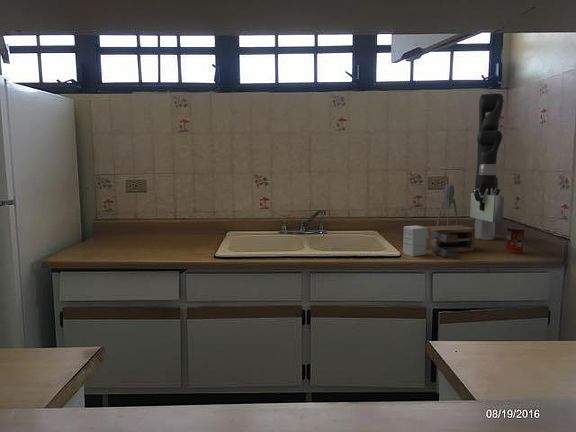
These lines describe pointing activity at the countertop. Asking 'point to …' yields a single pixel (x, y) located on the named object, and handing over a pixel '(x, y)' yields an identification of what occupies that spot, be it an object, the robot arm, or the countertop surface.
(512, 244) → the soda can
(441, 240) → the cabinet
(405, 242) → the supplement box
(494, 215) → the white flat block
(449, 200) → the citrus juicer
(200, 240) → the countertop surface
